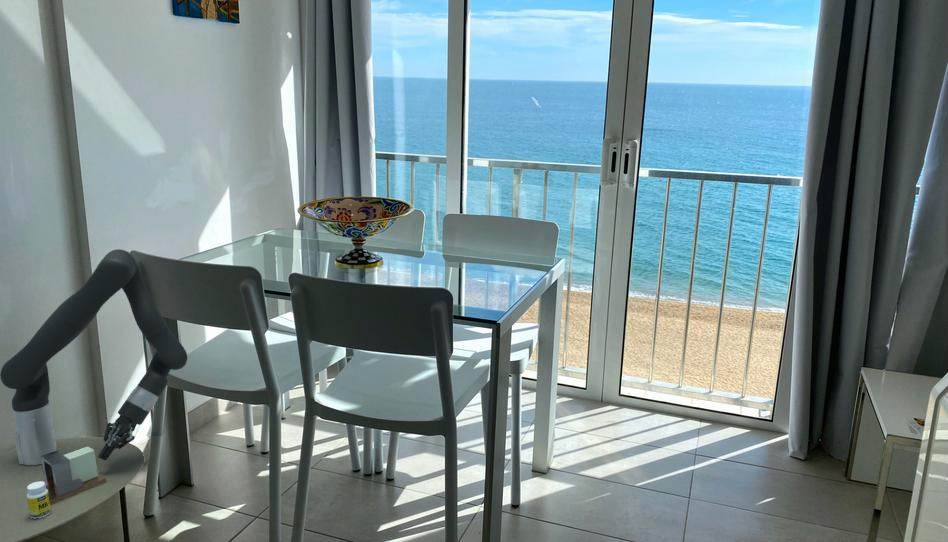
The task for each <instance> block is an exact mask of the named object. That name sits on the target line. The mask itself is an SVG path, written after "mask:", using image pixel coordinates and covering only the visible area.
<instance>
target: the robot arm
mask: <svg viewBox="0 0 948 542" xmlns="http://www.w3.org/2000/svg"><path fill="white" fill-rule="evenodd" d="M121 289H122V291H123V292H124V294H125V296H126V298H127V300H128V303H129V305H130V306H129V307H130V308H131V312H132V315H133V318H134V321H135V323H136V325H137V327H138V328H139V330H140V332H141V333H142V335H143V337H144V339H145V340H146V342H148V344H149V345H151V346H152V347H153V348H154V349H155V350H156V352H155V353H154V355H153V356H152V359H151V360H150V363H149V364H148V367H147V370H146V372H145V373H144V375H143V376H142V378H141V380H140V381H139V382H138V384H137V386H135V388H134V389H132V391H131V392H130V394H129V395H128V396H127V398H126V399H125V401H124V402H123V404H122V405H121V407H120V408H119V410H118V411H117V414H118V415H119V416H118V417H117V418H116V419H115V421H114V422H112V423H111V422H108V423H107V424H106V428H105V431H104V436H103V441H104V446H103V448H102V449H101V451H100V452H99V454H98V455H97V457H98V458H99V459H101V460H102V461H107V460H108V459H109V457H111V455H112V453H113V452H114V450H117V449H118V450H121V449H122V448H124V447H125V446H126V445H128V444H129V443H131V442H132V441H134V440H135V438H136V436H135V435H133V433H134V431H135V429H136V427H137V425H138V426H141V425H142V424H143V423H144V422H145V420H146V419H147V417H148V415H149V414H150V413H151V411H152V409H153V408H154V407H155V405H156V404H157V401H158V400H159V397H160V396H161V395H162V393H163V392H164V391H165V389H166V387H167V385H168V382H169V381H168V378H167V377H168V375H169V373H170V371H172V370H173V371H177V370H180V369H182V368H184V367H185V366H186V365H187V361H188V353H187V351H186V349H185V348H184V346H183V345H182V343H181V342H180V341H179V339H178V338H177V337H176V336H175V335H174V334H173V333H172V331H171V330H170V328H169V326H168V324H167V323H166V321H165V319H164V318H163V316H162V313H161V312H160V310H159V309H158V307H157V305H156V304H155V302H154V300H153V298H152V296H151V294H150V292H149V290H148V288H147V285H146V283H145V281H144V278H143V276H142V274H141V270H140V268H139V266H138V263H137V261H136V258H135V257H134V256H133V254H132V253H130V252H129V251H127V250H125V249H120V248H119V249H114V250H111V251H109V252H108V253H106V254H105V256H104V257H103V258H102V259H101V260H100V262H99V263H98V264H97V266H96V268H95V270H94V271H93V272H92V274H91V275H90V277H89V278H88V279H87V280H86V281H85V283H84V285H83V286H81V287H80V288H79V289H78V290H77V291H75V293H73V294H72V295H70V296H69V297H68V298H67V299H66V300H64V301H63V302H62V303H61V304H60V305H58V307H57V308H56V309H55V310H54V311H53V312H52V313H51V314H50V315H49V317H47V319H46V320H45V321H44V323H42V325H41V326H40V327H39V329H38V330H37V331H36V333H35V334H34V335H33V336H32V338H31V339H30V340H29V341H28V342H27V344H26V345H25V346H24V347H22V348H21V349H20V350H19V351H18V352H16V354H15V355H14V356H12V357H11V358H10V359H8V360H7V361H6V362H5V363H4V364H3V365H2V367H1V368H0V369H1V370H0V381H1V382H2V384H3V385H4V386H5V387H6V388H8V389H11V390H15V393H14V395H13V397H12V399H11V408H12V412H13V413H12V414H13V418H14V424H15V430H16V433H15V434H14V437H13V438H14V442H15V446H16V447H15V449H16V453H17V458H18V464H19V465H25V466H39V465H42V460H41V456H42V455H45V454H48V453H51V452H54V451H56V450H57V451H58V448H57V443H56V436H55V431H54V424H53V419H52V412H51V405H50V401H49V397H50V393H51V392H50V391H51V387H50V378H49V369H48V364H47V363H48V362H49V361H50V359H52V358H53V357H54V356H56V355H57V354H58V353H59V352H61V351H62V350H64V349H65V348H66V347H68V345H70V344H71V343H72V342H73V341H74V340H76V338H78V336H80V335H81V334H82V332H83V331H84V330H85V329H86V328H87V327H88V326H89V324H91V322H93V320H94V318H95V317H96V316H97V315H98V313H99V311H100V310H101V308H102V307H103V305H104V304H105V303H107V302H108V301H109V299H111V298H112V297H113V296H114V295H115V294H116V293H118V292H119V291H120V290H121Z"/></svg>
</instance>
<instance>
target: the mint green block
mask: <svg viewBox="0 0 948 542" xmlns="http://www.w3.org/2000/svg"><path fill="white" fill-rule="evenodd" d="M63 455H64V456H65V457H67V458H68V459H69V461H70V467H71V473H72V479H73V480H76V479H78V478H80V479H81V480H82V482H85V481H87V480H90V479H92V478H95V477H97V476H98V473H99V472H98V467H97V461H96V460H97V459H96V453H95V450H94V449H93V448H91V447H90V446H85V447H82V448H80V449H77V450H75V451H71V452H68V453H66V454H63Z"/></svg>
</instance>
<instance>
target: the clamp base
mask: <svg viewBox="0 0 948 542" xmlns="http://www.w3.org/2000/svg"><path fill="white" fill-rule="evenodd" d="M64 455H65V454H62V453H61V452H60V451H58V449H57V450H56V451H54V452H51V453H48V454H45V455H42V456H41V460H42V464H41V466H42V470H43V477H44V482H45V486H46V489H47V490H48V494H49V501H50V506H51V505H54V504H57V503H59V502H61V501H63V500H66V499H68V498H70V497H71V498H72V497H73V496H76V495H78V494H81V493H83V492H85V491H88V490H90V489H93V488H96V487H97V486H100V485H103V484H106V483H107V477H105V476H104V475H102V474H101V473H99V472H98V476H97V477H95V478H92V479H90V480H87V481H85V482H82V480H81V479H80V478H78V479H76V480H73V479H72V473H71V467H70V461H69V459H68V458H67V457H65V456H64Z"/></svg>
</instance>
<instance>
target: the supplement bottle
mask: <svg viewBox="0 0 948 542" xmlns="http://www.w3.org/2000/svg"><path fill="white" fill-rule="evenodd" d="M26 491H27V494H26V500H27V507H28V511H29V517H30V518H31V519H32V518H34V519H33V520H36V518H39V519H43V518H46V517H47V516H48V515H50V514H51V512H52V509H51V505H50V501H49V494H48V490H47V489H46V483H45V481H34V482H32V483H30V484H29V485H27V486H26ZM42 517H43V518H42Z"/></svg>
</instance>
